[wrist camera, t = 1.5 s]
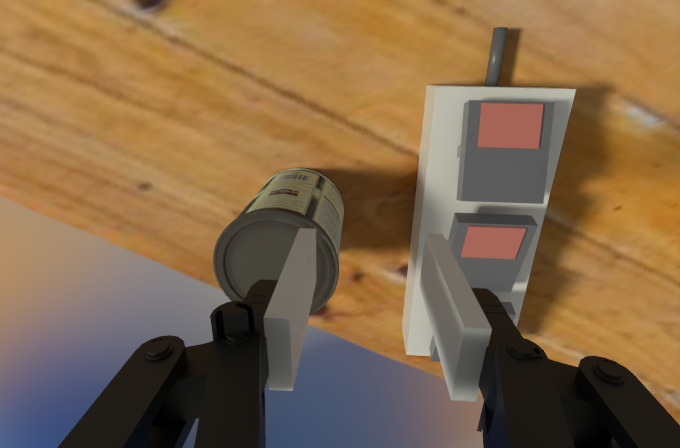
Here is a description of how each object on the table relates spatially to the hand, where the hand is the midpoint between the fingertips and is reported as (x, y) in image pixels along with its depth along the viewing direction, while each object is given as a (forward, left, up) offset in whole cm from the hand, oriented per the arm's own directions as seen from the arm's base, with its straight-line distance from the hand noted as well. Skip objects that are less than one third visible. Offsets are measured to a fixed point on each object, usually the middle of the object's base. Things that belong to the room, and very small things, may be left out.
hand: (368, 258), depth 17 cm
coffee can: (+7, -7, -25) cm, 27 cm away
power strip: (+6, +12, -25) cm, 28 cm away
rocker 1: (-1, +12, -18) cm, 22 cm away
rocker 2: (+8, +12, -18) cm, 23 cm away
